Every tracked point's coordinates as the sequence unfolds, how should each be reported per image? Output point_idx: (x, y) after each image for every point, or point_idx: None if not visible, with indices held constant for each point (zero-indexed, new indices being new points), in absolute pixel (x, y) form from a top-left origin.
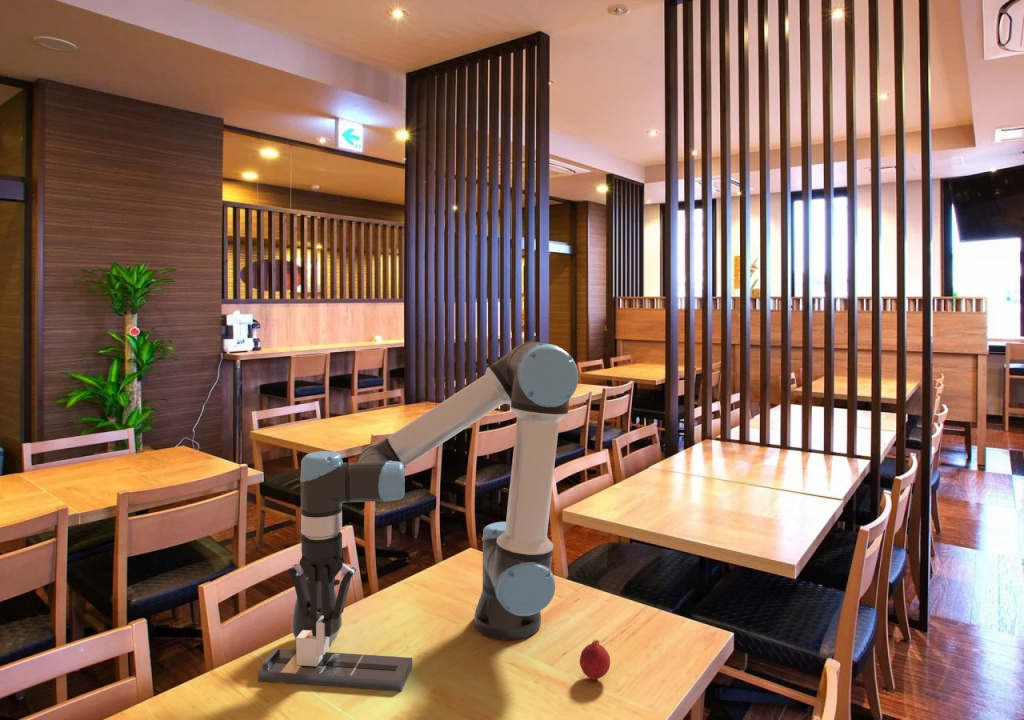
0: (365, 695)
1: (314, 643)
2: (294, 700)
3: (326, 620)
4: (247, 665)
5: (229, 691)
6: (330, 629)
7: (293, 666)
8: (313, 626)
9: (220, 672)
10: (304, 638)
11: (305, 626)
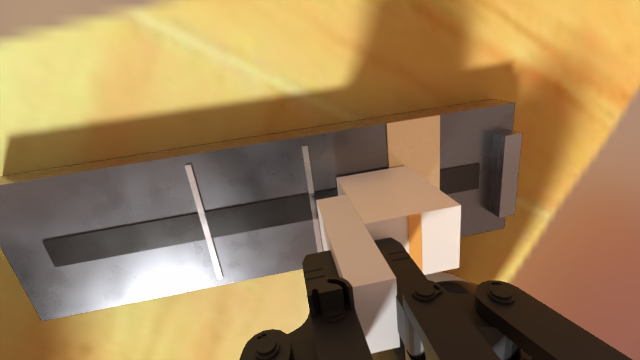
0: (112, 121)
1: (366, 212)
2: (333, 31)
3: (323, 297)
4: (551, 161)
5: (552, 26)
6: (307, 280)
7: (412, 157)
8: (406, 266)
9: (610, 110)
10: (421, 212)
11: None
